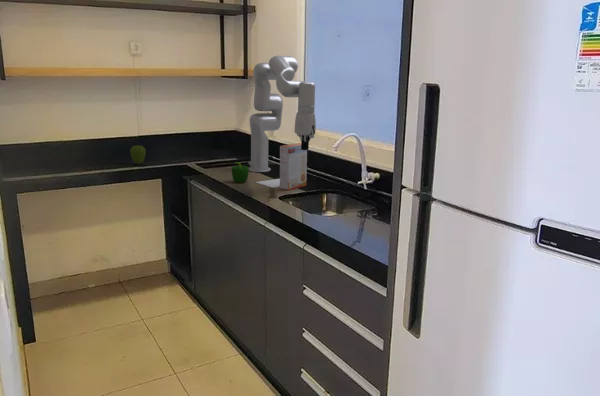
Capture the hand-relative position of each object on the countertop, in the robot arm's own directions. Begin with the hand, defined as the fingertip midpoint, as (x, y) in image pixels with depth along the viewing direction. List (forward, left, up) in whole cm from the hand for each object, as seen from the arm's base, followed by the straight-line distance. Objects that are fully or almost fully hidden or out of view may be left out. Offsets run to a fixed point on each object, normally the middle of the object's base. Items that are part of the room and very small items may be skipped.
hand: (304, 149), depth 237 cm
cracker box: (-8, 0, -20) cm, 21 cm away
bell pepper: (-32, -14, -20) cm, 40 cm away
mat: (-19, 0, -19) cm, 27 cm away
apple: (-102, -36, -20) cm, 110 cm away
